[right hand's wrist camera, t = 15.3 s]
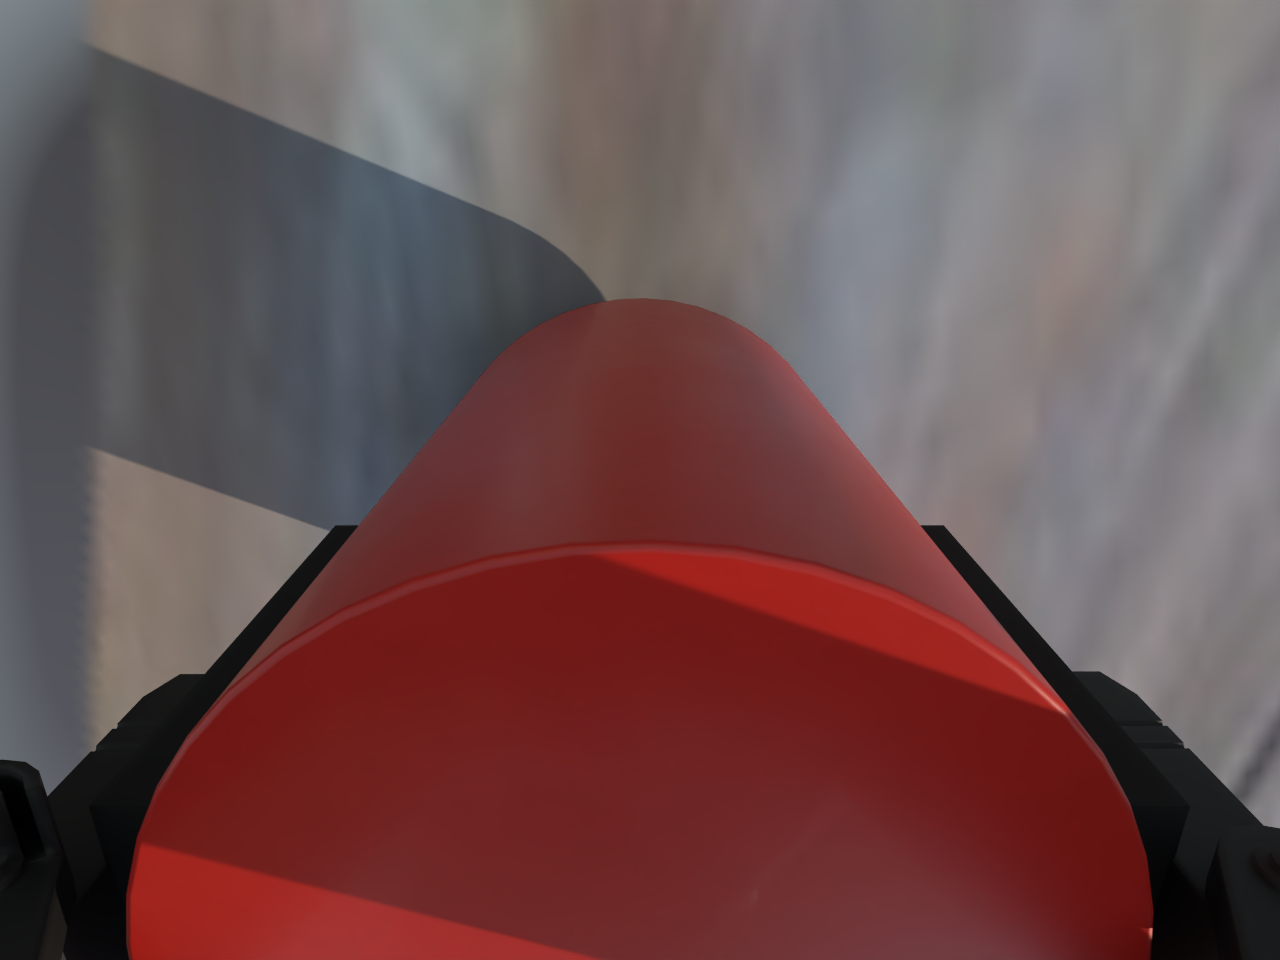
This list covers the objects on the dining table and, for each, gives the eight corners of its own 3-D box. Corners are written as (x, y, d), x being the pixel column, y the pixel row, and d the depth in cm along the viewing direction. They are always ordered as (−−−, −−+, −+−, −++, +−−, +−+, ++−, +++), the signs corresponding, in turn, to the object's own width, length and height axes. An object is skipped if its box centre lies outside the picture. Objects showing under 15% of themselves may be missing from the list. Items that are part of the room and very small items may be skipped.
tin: (892, 364, 17) (1376, 716, 6) (758, 694, 20) (909, 1351, 9) (494, 245, 16) (164, 389, 5) (414, 608, 19) (92, 1215, 8)
